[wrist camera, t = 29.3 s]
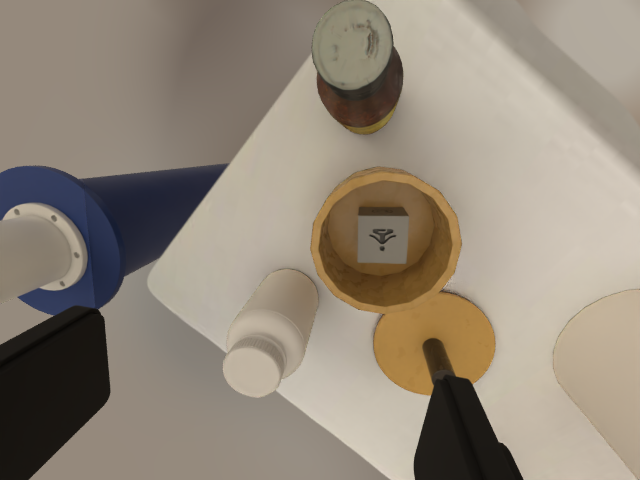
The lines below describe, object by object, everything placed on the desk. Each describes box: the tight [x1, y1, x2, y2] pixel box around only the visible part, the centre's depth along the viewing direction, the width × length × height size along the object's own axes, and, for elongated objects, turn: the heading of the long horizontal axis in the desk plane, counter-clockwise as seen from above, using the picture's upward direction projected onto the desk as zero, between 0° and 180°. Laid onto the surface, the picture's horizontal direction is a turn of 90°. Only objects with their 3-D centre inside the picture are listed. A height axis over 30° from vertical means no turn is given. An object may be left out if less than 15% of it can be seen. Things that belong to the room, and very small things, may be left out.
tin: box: [310, 167, 462, 314], centre depth 34 cm, size 14×14×8 cm
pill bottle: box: [223, 269, 318, 397], centre depth 35 cm, size 8×8×15 cm
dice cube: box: [357, 207, 409, 264], centre depth 35 cm, size 5×5×5 cm
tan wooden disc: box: [374, 292, 495, 395], centre depth 37 cm, size 15×15×7 cm
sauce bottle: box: [312, 0, 403, 134], centre depth 25 cm, size 7×6×20 cm
